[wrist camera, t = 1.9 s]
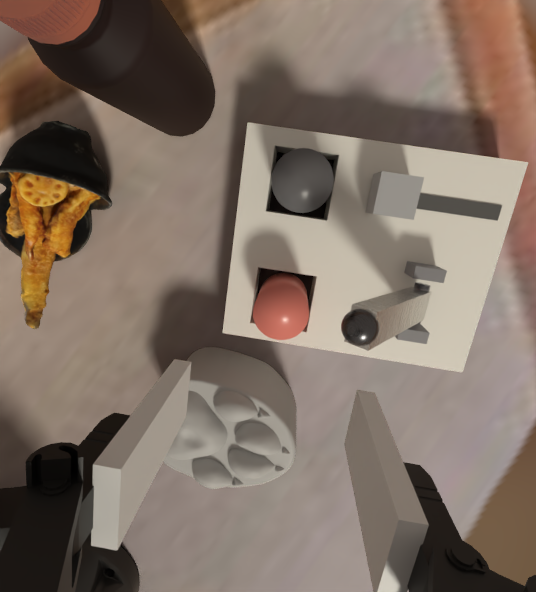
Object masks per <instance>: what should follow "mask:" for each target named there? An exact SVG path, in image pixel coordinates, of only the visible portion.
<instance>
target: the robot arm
mask: <svg viewBox="0 0 536 592" xmlns="http://www.w3.org/2000/svg"><path fill="white" fill-rule="evenodd" d="M190 372H191V362H189V361H183V360H177V359H174V360H173V361H172V363H171V364H170V365H169V367H168V368H167V369H166V371H165V372H164V373H163V374H162V376H161V377H160V378H159V380H158V381H157V382H156V383H155V385H154V386H153V387H152V389H151V390H150V391H149V393H148V394H147V395H146V396H145V398H144V399H143V400H142V402H141V403H140V404H139V405H138V407H137V408H136V409H135V411H134V412H133V413H132V414H131V416H130V415H124V414H119V413H113V414H111V415H110V416H108V417H106V418H104V419H103V420H101V421H100V422H99V423H98V425H97V426H96V427H95V428H94V429H93V431H92V432H90V433H89V435H88V436H87V437H86V439H85V440H83V441H82V442H81V444H80V445H79V446H77V445H75V444H72V443H62V442H61V443H55V444H50V445H47V446H45V447H42V448H40V449H38V450H37V451H35V452H34V453H32V454H31V455H30V456H29V458H28V459H27V460H26V482H27V486H23V487H14V488H2V489H0V592H138V590H139V574H138V571H137V568H136V566H135V564H134V562H133V560H132V559H131V557H130V556H129V554H128V553H127V552H126V551H125V550H124V549H123V548H122V547H121V546H120V544H121V543H122V541H123V539H124V537H125V535H126V533H127V531H128V529H129V527H130V525H131V523H132V521H133V519H134V517H135V515H136V513H137V511H138V509H139V507H140V505H141V503H142V502H143V500H144V498H145V496H146V494H147V492H148V490H149V488H150V486H151V484H152V482H153V480H154V478H155V476H156V474H157V472H158V470H159V468H160V466H161V464H162V463H163V461H164V459H165V457H166V455H167V453H168V451H169V449H170V447H171V445H172V443H173V441H174V439H175V437H176V435H177V433H178V431H179V429H180V427H181V425H182V423H183V422H184V420H185V418H186V412H187V402H188V392H189V382H190ZM344 445H345V450H346V455H347V460H348V465H349V470H350V475H351V480H352V485H353V490H354V495H355V500H356V505H357V510H358V516H359V521H360V526H361V531H362V536H363V541H364V546H365V551H366V556H367V561H368V566H369V571H370V576H371V581H372V586H373V591H374V592H407V590H409V592H536V575H534V576H532V577H529V578H528V580H527V582H526V585H525V586H523V585H521V584H519V583H517V582H514V581H512V580H510V579H508V578H506V577H503V576H501V575H499V574H497V573H495V572H493V571H492V570H490V569H489V567H488V564H487V562H486V561H485V560H484V558H483V557H482V556H481V554H480V553H479V552H478V551H476V550H475V549H474V548H473V547H472V546H471V545H469V544H467V543H466V542H464V541H462V539H461V537H460V535H459V533H458V531H457V529H456V527H455V525H454V523H453V521H452V519H451V517H450V515H449V513H448V510H447V508H446V506H445V504H444V503H443V502H442V498H441V496H440V494H439V492H437V488H436V486H435V484H434V482H433V480H432V478H431V476H430V475H429V474H428V473H427V472H426V471H425V470H424V469H423V468H422V467H421V466H420V465H416V464H410V463H404V462H403V461H402V458H401V456H400V453H399V451H398V448H397V446H396V443H395V441H394V439H393V436H392V434H391V431H390V429H389V426H388V424H387V421H386V419H385V417H384V414H383V412H382V409H381V407H380V404H379V402H378V399H377V397H376V395H375V393H373V392H367V391H361V390H357V392H356V397H355V401H354V405H353V409H352V414H351V418H350V422H349V426H348V431H347V435H346V439H345V444H344Z"/></svg>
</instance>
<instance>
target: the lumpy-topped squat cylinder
mask: <svg viewBox="0 0 536 592" xmlns="http://www.w3.org/2000/svg"><path fill="white" fill-rule="evenodd" d="M187 361H189V362H191V372H190V382H189V392H188V402H187V412H186V418H185V420H184V422H183V423H182V425H181V427H180V429H179V431H178V433H177V435H176V437H175V439H174V441H173V443H172V445H171V447H170V449H169V451H168V453H167V455H166V457H165V459H164V461H163V462H164V463H165V464H166V465H167V466H169V467H170V468H172V469H174V470H176V471H178V472H180V473H183V474H186V475H188V476H190V477H192V478H195V480H196V481H197V482H198V483H199V484H200V485H202V486H204V487H206V488H209V489H218V488H222V487H230V488H233V487H246V486H254V485H260V484H264V483H267V482H269V481H271V480H274V479H276V478H277V477H279V476H281V475H282V474H284V473H285V472H286V471H287V470H289V468H290V467H291V466H292V464H293V462H294V459H295V456H296V403H295V399H294V396H293V393H292V391H291V389H290V387H289V386H288V384H287V383H286V382H285V381H284V379H283V378H282V377H281V376H280V375H279V374H278V373H277V372H276V371H275V370H274V369H273V368H272V367H271V366H270V365H268V364H267V363H265V362H262V361H260V360H258V359H255V358H253V357H250V356H248V355H245V354H242V353H239V352H235V351H231V350H227V349H223V348H218V347H205V348H201V349H199V350H196V351H195V352H193V353H192V354H191V355H190V356H189V358H188V359H187Z"/></svg>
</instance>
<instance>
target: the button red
mask: <svg viewBox="0 0 536 592" xmlns="http://www.w3.org/2000/svg"><path fill="white" fill-rule="evenodd" d="M253 318H254V322H255V324H256V326H257V327H258V329H259V330H260V331H261V332H262V333H263V334H264V335H266V336H267V337H269V338H272V339H276V340H287V339H291V338H293V337H295V336H297V335H298V334H300V333H301V332H302V331H303V330H304V328H305V327H306V325H307V322H308V319H309V306H308V298H307V291H306V288H305V285H304V284H303V282H302V281H301V280H300V279H299V278H298V277H296V276H294V275H292V274H289V273H277V274H274V275H272V276H270V277H269V278H268V279H266V281H265V282H264V283H263V285H262V287H261V289H260V292H259V294H258V296H257V299H256V301H255V304H254V308H253Z"/></svg>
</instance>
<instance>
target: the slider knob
mask: <svg viewBox="0 0 536 592" xmlns="http://www.w3.org/2000/svg"><path fill="white" fill-rule="evenodd" d="M423 180H424V177H419V176H412V175H405V174H398V173H391V172H384V171H381V172H378V173H375V174H373V179H372V183H371V188H370V193H369V198H368V203H367V207H366V212H365V213H371V214H378V215H384V216H391V217H398V218H404V219H411V220H414V217H415V213H416V209H417V205H418V201H419V196H420V192H421V188H422V184H423Z"/></svg>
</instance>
